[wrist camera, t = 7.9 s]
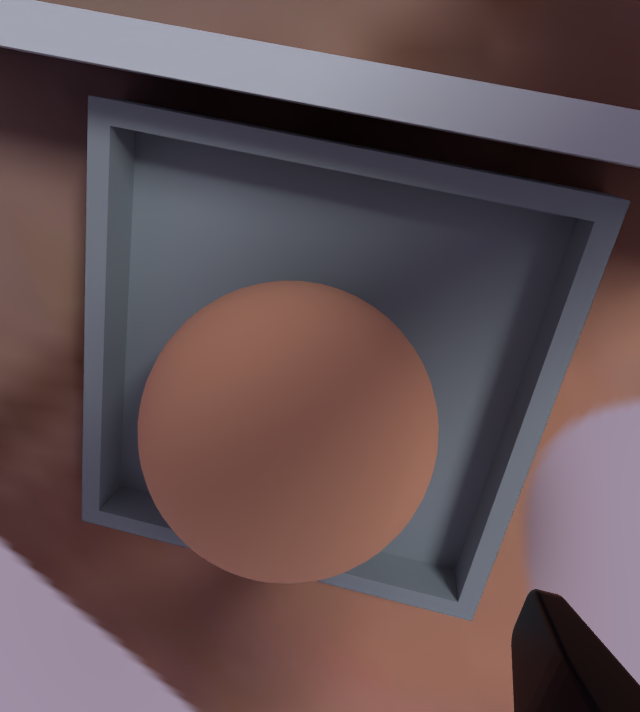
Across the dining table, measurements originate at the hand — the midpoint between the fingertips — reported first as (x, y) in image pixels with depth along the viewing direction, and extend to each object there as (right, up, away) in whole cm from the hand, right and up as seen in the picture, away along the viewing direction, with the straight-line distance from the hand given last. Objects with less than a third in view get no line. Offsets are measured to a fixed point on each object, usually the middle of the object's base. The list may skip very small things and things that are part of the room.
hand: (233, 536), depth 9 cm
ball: (+1, +2, +6) cm, 6 cm away
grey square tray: (+1, +2, +6) cm, 7 cm away
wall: (+2, +8, +4) cm, 9 cm away
